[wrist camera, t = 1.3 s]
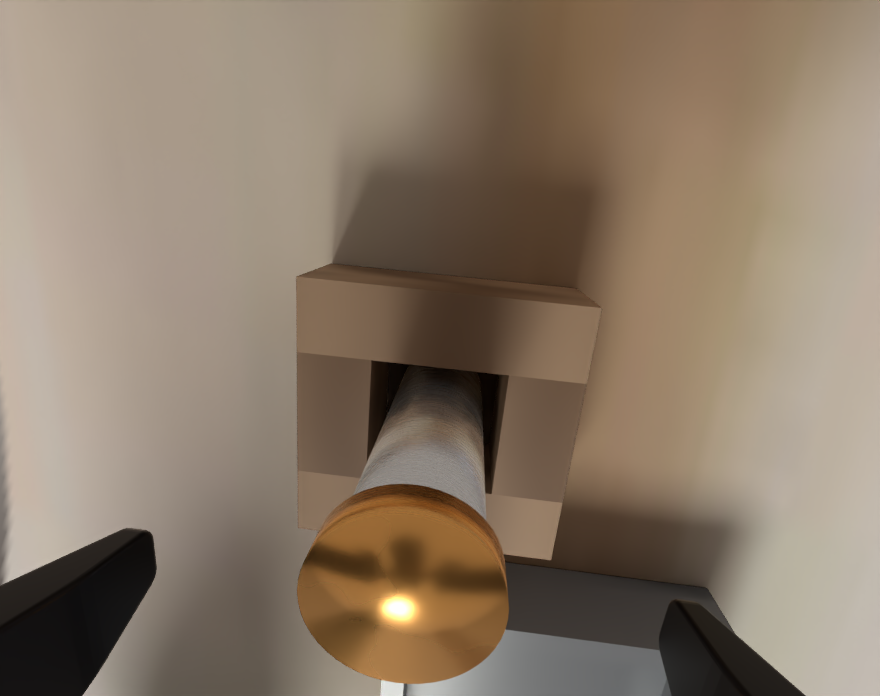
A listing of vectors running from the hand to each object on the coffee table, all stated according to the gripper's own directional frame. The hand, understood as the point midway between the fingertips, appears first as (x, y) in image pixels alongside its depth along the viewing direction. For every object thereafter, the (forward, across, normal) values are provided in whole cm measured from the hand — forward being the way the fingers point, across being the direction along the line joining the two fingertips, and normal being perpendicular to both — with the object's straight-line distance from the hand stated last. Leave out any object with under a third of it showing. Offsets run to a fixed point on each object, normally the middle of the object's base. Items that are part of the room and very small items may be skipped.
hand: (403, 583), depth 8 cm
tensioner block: (+8, 0, 0) cm, 8 cm away
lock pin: (+8, 0, 0) cm, 8 cm away
